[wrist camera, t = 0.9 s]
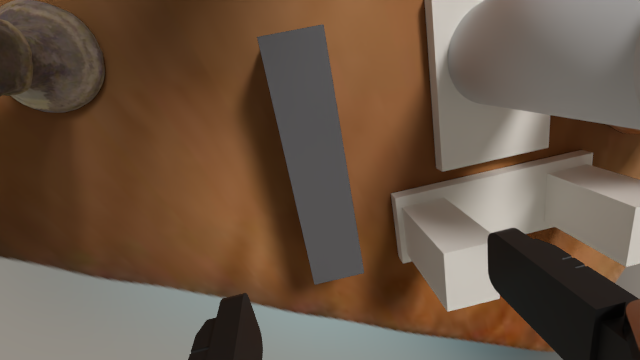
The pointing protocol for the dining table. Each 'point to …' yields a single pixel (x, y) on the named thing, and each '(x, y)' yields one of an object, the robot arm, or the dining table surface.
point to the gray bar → (313, 149)
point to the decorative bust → (48, 57)
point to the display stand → (521, 134)
